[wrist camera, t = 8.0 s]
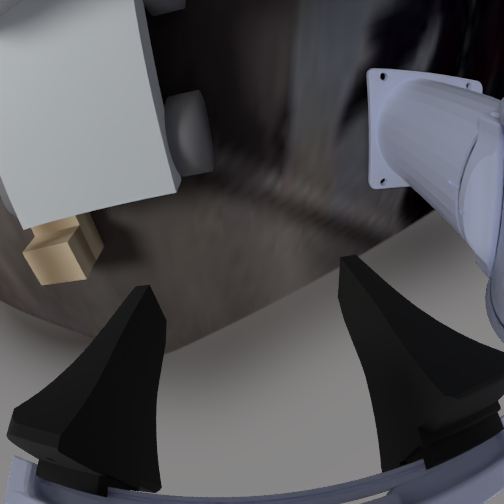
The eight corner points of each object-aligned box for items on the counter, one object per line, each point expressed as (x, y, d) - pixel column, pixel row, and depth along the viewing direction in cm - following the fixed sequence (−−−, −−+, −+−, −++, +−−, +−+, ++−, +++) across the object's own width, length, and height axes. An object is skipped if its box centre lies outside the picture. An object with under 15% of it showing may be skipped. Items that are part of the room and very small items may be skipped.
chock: (80, 186, 18) (54, 214, 15) (105, 244, 21) (86, 279, 18) (37, 200, 18) (9, 228, 15) (62, 253, 21) (41, 285, 18)
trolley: (179, -46, 10) (123, -129, 2) (215, 156, 18) (197, 257, 9) (3, 36, 10) (-108, 60, 2) (47, 198, 18) (-32, 290, 10)
